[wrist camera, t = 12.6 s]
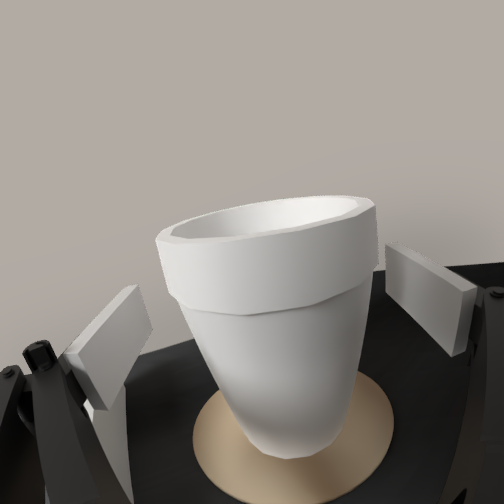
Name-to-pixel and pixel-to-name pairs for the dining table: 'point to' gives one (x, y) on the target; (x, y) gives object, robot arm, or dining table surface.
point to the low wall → (114, 438)
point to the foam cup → (278, 310)
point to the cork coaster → (296, 469)
